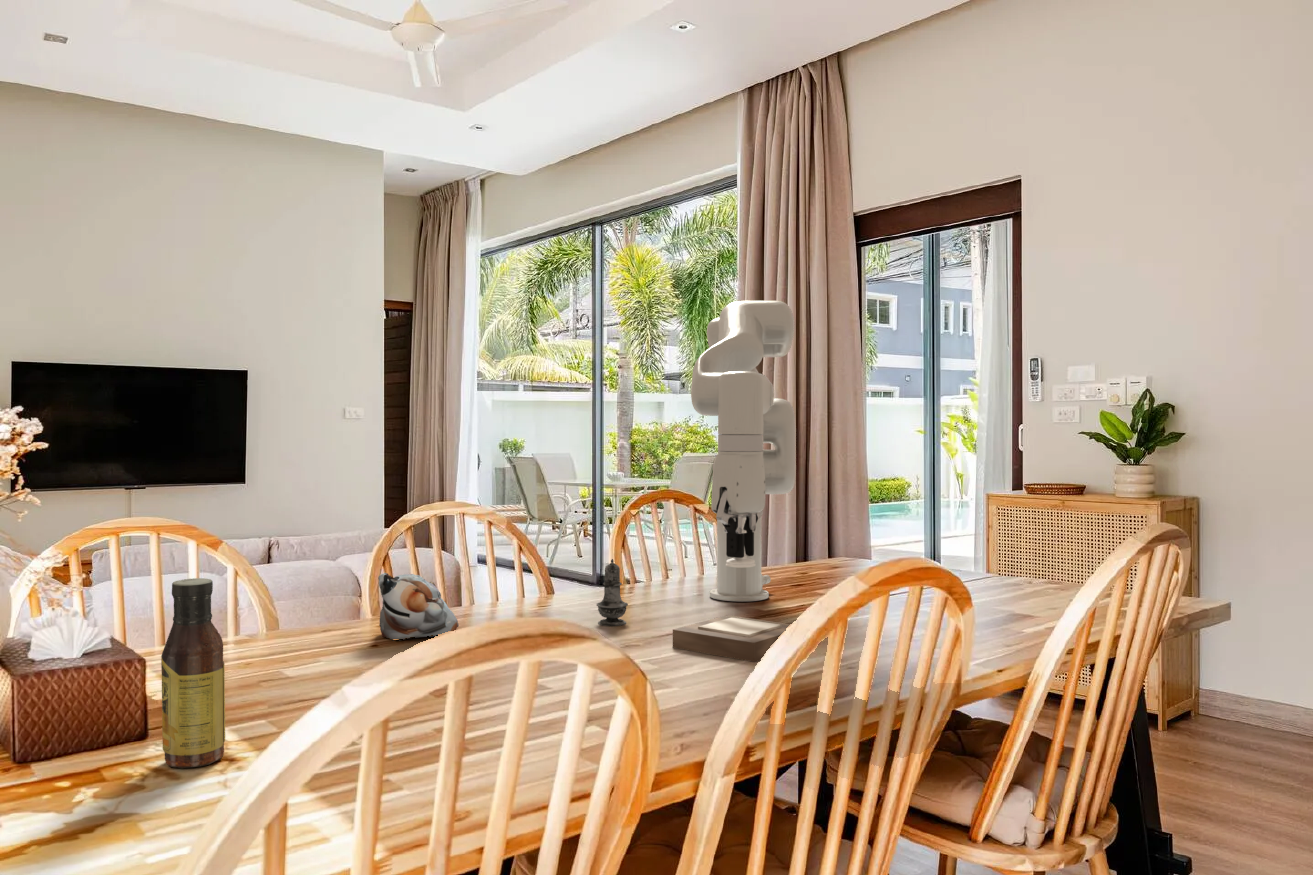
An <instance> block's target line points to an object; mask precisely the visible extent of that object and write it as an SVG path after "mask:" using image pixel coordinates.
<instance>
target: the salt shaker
mask: <svg viewBox="0 0 1313 875" xmlns="http://www.w3.org/2000/svg"><path fill="white" fill-rule="evenodd" d="M614 562H615V561H614V559H613V558H611V559H610V563H608V564H607V565H606V566H604V582H603V583H602V585H603V588H604V589H603V591H604V592H603V593H604V594H603V597H602V598H603V599H602V600H601V601H600V602H597V603H596V604H595V605H596V607H597V610H598V614H599V615H600V616H601V617H602V618H603V619H600V620H599V621H598V622H597V624H598V625H599V626H602V627H603V626H604V627H621V626H625V625H627V621H625V620H624V619H623V618H622V617H623V616H624V615H625V614H626V611H627V606H629V603H627V602H625V601H624V600H622V597H621V596H622V595H621V586H622V582H621V581H620V580H621V578H620V577H621V576H620V575H621V574H620V573H621V572H620V571H621V570H620V569H621V567H620V566H619V565H618V564H616V563H614Z"/></svg>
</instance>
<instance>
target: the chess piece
mask: <svg viewBox="0 0 1313 875" xmlns="http://www.w3.org/2000/svg"><path fill="white" fill-rule="evenodd" d="M734 520H735V522H736V518H734ZM745 521H746V517H745V516H742V532H741V533H747V532H746V530H743V528H744V524H745ZM746 556H747V555H746V553H745V547H744V557H743V558H736V557H734V558H731V559H728V560H727V561H726V566H728V567H737V568H745V567H753V566H755V561H754V560H753V559H750V558H747V557H746Z"/></svg>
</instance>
